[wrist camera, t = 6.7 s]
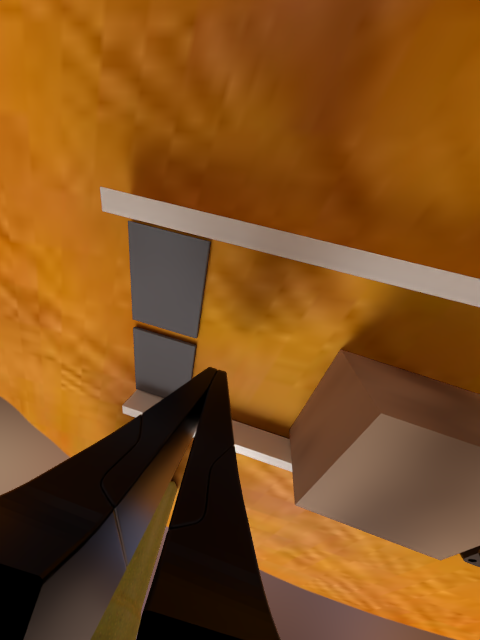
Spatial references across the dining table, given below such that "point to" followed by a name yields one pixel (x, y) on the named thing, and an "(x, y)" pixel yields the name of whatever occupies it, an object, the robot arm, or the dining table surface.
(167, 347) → the pads
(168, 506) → the plant pot
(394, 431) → the walnut block
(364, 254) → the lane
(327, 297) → the dining table surface
